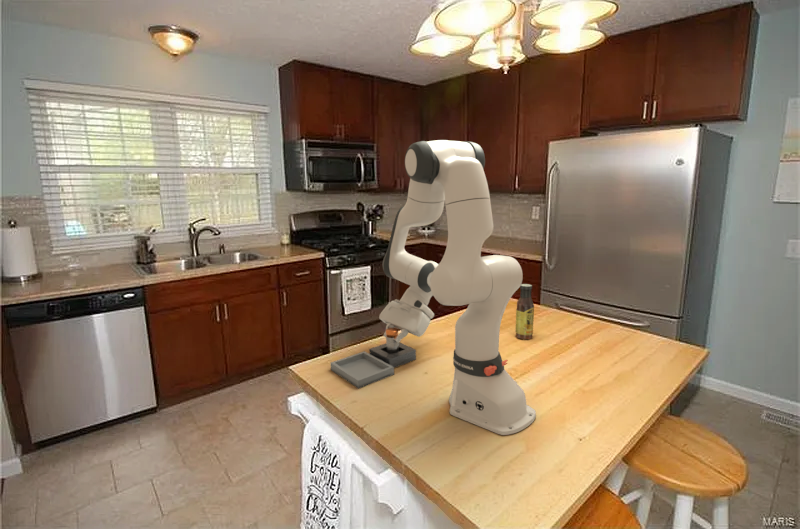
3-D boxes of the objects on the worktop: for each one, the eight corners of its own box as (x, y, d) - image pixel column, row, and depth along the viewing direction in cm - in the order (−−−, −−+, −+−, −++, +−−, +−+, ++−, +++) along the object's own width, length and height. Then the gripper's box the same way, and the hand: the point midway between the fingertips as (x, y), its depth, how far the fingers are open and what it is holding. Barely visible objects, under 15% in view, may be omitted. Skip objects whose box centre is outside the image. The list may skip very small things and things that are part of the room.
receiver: (416, 359, 135) (415, 349, 134) (389, 369, 128) (389, 359, 127) (395, 349, 143) (395, 340, 142) (369, 358, 136) (369, 348, 136)
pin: (401, 358, 135) (400, 329, 133) (391, 361, 133) (390, 333, 131) (394, 354, 138) (392, 326, 136) (384, 358, 136) (383, 329, 134)
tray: (394, 374, 125) (393, 367, 124) (358, 388, 117) (358, 380, 116) (364, 358, 137) (364, 351, 136) (330, 369, 129) (330, 362, 128)
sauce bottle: (529, 341, 147) (531, 288, 143) (512, 338, 151) (514, 286, 147) (535, 335, 152) (537, 284, 148) (519, 332, 156) (520, 282, 152)
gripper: (388, 293, 144) (366, 326, 140) (427, 305, 128) (404, 343, 124) (398, 303, 147) (378, 335, 143) (438, 316, 132) (416, 352, 128)
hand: (390, 339), depth 134 cm, fingers closed on pin, 4 cm apart
